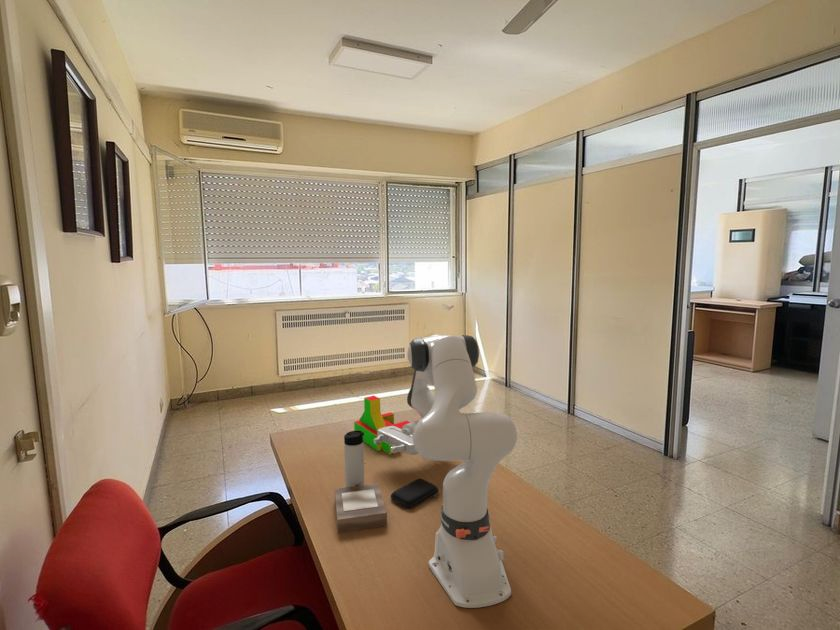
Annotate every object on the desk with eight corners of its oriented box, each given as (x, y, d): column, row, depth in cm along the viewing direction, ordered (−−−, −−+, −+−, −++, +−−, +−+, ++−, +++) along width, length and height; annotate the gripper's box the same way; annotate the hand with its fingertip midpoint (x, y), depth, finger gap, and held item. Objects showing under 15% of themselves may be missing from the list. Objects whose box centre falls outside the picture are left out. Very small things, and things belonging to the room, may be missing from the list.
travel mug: (361, 494, 144) (360, 436, 141) (342, 492, 145) (340, 435, 143) (367, 485, 150) (366, 429, 148) (349, 483, 152) (347, 427, 149)
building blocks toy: (384, 456, 172) (384, 411, 170) (354, 436, 192) (353, 395, 189) (423, 444, 183) (423, 402, 181) (391, 426, 203) (390, 387, 201)
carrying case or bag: (411, 514, 134) (443, 495, 144) (411, 505, 133) (443, 486, 144) (388, 500, 141) (420, 483, 152) (387, 491, 141) (420, 475, 151)
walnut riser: (386, 525, 128) (386, 512, 127) (337, 532, 125) (337, 519, 124) (378, 494, 144) (378, 482, 144) (335, 500, 141) (334, 488, 140)
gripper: (394, 419, 171) (365, 429, 162) (431, 434, 156) (401, 446, 147) (394, 434, 172) (365, 445, 163) (431, 451, 157) (402, 464, 148)
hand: (383, 446), depth 155 cm, fingers open, 8 cm apart
